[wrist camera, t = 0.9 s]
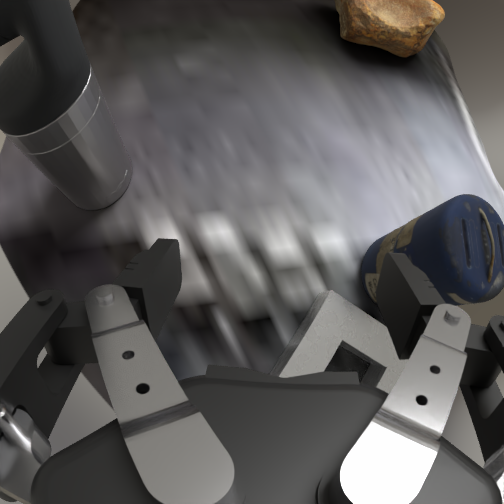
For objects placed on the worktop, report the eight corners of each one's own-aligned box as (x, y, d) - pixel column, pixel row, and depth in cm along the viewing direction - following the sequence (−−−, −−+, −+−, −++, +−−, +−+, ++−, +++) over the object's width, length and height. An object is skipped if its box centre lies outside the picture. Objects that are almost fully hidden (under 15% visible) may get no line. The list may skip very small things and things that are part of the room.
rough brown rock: (294, 29, 46) (314, -31, 32) (322, -6, 49) (342, -56, 34) (407, 90, 47) (450, 45, 33) (418, 46, 50) (452, 5, 35)
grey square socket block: (252, 398, 32) (257, 408, 28) (318, 293, 36) (331, 289, 32) (348, 447, 32) (362, 458, 28) (405, 350, 35) (423, 352, 31)
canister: (422, 249, 39) (521, 207, 21) (413, 319, 36) (522, 309, 19) (362, 229, 38) (454, 167, 21) (349, 304, 36) (452, 285, 18)
